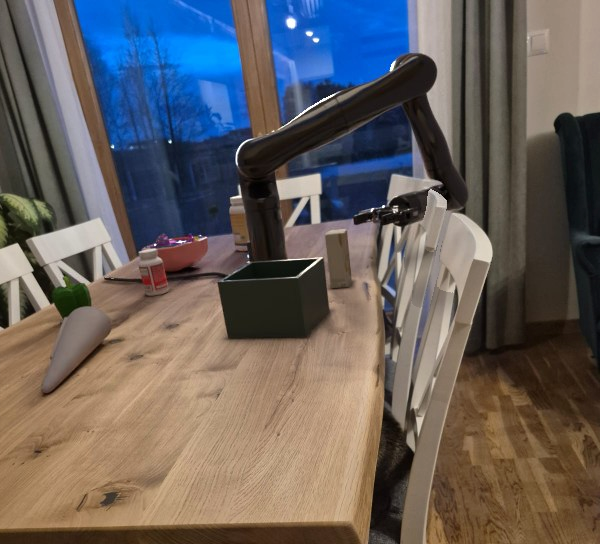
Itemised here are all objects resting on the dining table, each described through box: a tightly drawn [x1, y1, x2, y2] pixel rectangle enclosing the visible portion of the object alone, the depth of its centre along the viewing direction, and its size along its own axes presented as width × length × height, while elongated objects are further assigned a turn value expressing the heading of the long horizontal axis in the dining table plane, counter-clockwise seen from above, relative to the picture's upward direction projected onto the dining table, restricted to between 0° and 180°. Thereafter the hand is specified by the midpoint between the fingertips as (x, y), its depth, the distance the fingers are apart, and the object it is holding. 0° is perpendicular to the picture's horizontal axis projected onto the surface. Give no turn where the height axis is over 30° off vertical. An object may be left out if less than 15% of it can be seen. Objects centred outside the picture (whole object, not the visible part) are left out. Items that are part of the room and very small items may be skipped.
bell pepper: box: [51, 275, 93, 320], centre depth 135 cm, size 8×8×10 cm
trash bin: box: [217, 257, 330, 339], centre depth 111 cm, size 16×16×11 cm
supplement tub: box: [228, 194, 249, 252], centre depth 192 cm, size 12×12×17 cm
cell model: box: [141, 233, 209, 273], centre depth 175 cm, size 17×20×11 cm
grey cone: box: [40, 306, 113, 394], centre depth 105 cm, size 8×9×26 cm
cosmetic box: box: [324, 228, 353, 289], centre depth 132 cm, size 6×4×12 cm
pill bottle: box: [137, 249, 170, 297], centre depth 149 cm, size 6×6×11 cm
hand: (368, 220), depth 136 cm, fingers open, 8 cm apart
